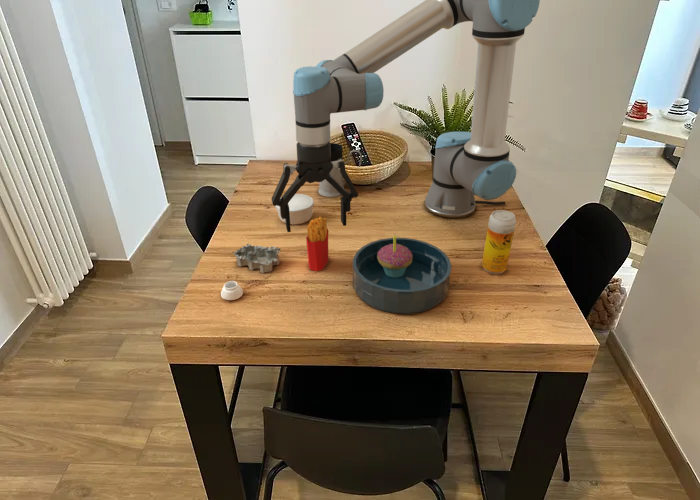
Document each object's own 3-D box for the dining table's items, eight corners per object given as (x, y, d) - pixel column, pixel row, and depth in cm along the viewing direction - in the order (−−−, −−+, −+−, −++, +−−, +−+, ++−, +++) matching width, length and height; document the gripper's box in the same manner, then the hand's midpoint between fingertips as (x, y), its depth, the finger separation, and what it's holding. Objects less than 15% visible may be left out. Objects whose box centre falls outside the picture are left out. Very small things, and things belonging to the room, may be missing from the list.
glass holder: (317, 185, 167) (316, 142, 159) (360, 184, 168) (360, 141, 160) (318, 197, 159) (316, 152, 151) (362, 195, 160) (363, 151, 152)
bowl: (427, 254, 130) (429, 232, 127) (464, 306, 111) (468, 282, 108) (343, 266, 125) (342, 244, 122) (367, 322, 107) (367, 298, 103)
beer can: (492, 277, 121) (502, 223, 113) (476, 265, 126) (484, 212, 118) (511, 271, 123) (522, 217, 115) (494, 259, 128) (504, 207, 120)
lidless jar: (217, 293, 116) (226, 304, 112) (216, 283, 114) (225, 293, 111) (237, 286, 118) (247, 296, 115) (236, 275, 117) (245, 286, 113)
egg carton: (283, 261, 128) (282, 248, 125) (266, 276, 122) (264, 262, 120) (250, 250, 132) (249, 237, 130) (232, 264, 126) (230, 251, 124)
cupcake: (409, 284, 117) (412, 240, 111) (373, 280, 119) (375, 236, 113) (412, 264, 125) (416, 222, 118) (379, 260, 126) (380, 219, 120)
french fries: (319, 274, 123) (318, 231, 116) (305, 271, 124) (302, 229, 117) (332, 256, 129) (330, 215, 123) (317, 253, 130) (316, 213, 124)
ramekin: (269, 222, 145) (267, 206, 142) (287, 206, 154) (286, 191, 151) (303, 229, 141) (302, 213, 139) (320, 212, 150) (319, 197, 147)
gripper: (363, 132, 115) (361, 213, 126) (254, 140, 110) (263, 224, 121) (372, 143, 109) (370, 227, 120) (257, 152, 104) (266, 240, 115)
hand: (316, 226), depth 121 cm, fingers open, 13 cm apart
